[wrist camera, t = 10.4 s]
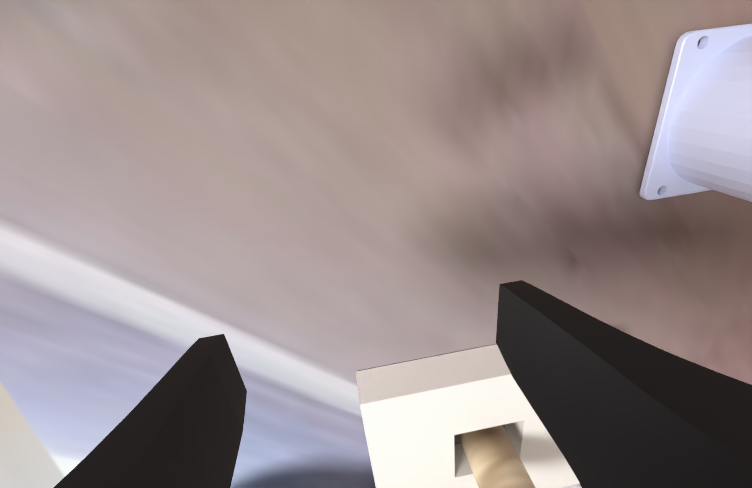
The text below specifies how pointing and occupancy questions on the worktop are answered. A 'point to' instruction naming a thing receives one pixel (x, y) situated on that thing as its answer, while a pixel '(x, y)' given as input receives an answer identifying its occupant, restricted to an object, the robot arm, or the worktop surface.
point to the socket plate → (450, 421)
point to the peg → (494, 459)
